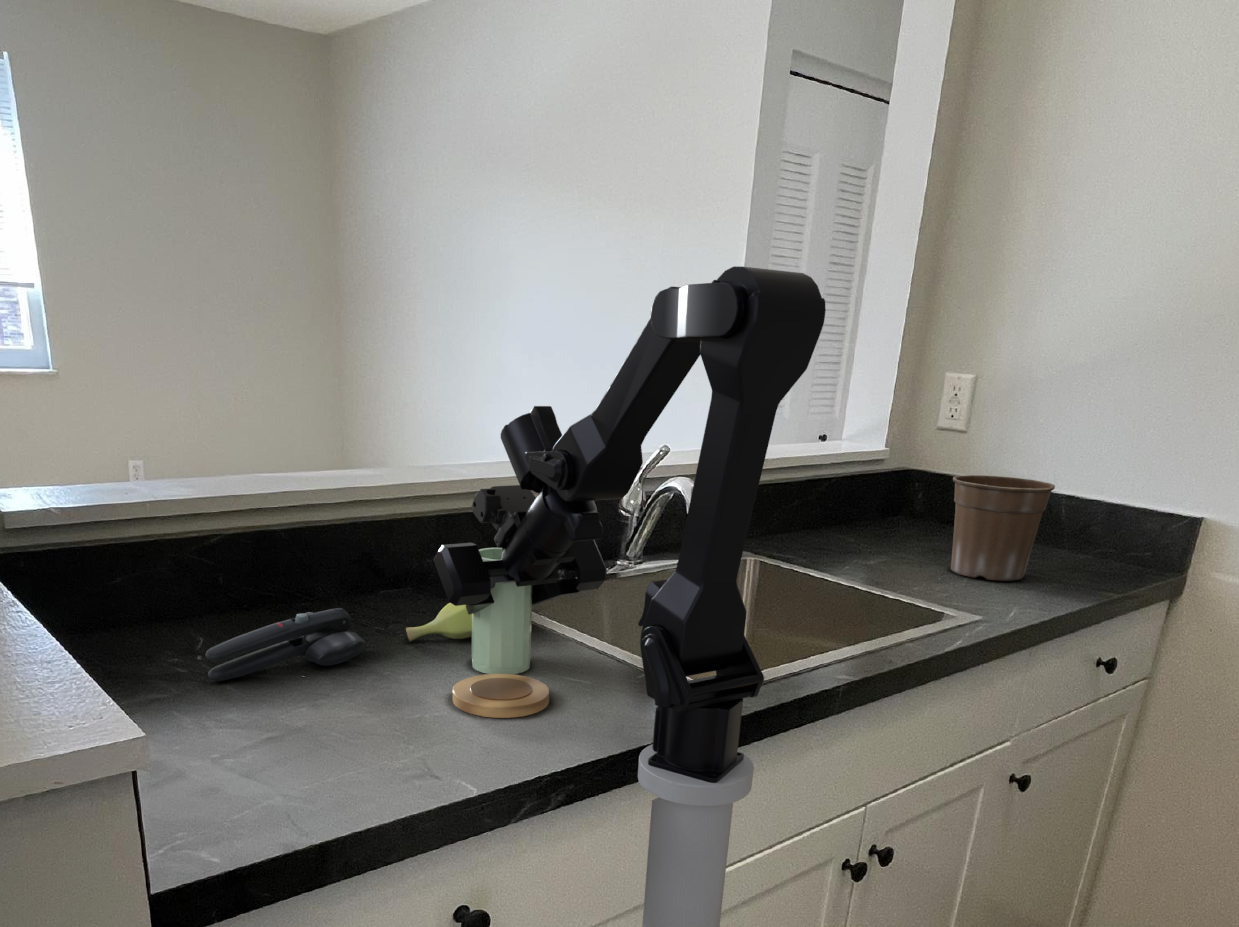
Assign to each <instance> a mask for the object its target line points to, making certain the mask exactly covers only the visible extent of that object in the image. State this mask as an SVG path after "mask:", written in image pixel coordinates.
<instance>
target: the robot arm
mask: <svg viewBox="0 0 1239 927" xmlns="http://www.w3.org/2000/svg"><path fill="white" fill-rule="evenodd" d="M826 311H827V310H826V299H825V298H824V297H822V294H821V292H820V288H819V286H818V284H817V283H816V282H815V280H814V279H813V278H812V277H811V276H809V275H808V274H806V273H804V272H797V271H786V270H777V269H769V268H760V267H758V268H757V267H750V266H732V267H730V268H727V269H726V270H724V271H723V272H722V273H721V274H720V275H719V276H718V277H717V279H713V280H712V281H711V282H703V283H692V284H691V283H690V284H685V285H683V286H672V285H671V286H670V287H668V288H665V289H662V290H659V292H658V293H657V294H656V296H655V297H654V298H653V301H652V304H651V310H650V318H649V319H648V321H647V322H646V324H645V326H644V328H643V329H642V331H641V333H640V335H639V336H638V338H637V340H636V341H635V343H634V344H633V346H632V348H631V350H630V351H629V353H628V354H627V357H626V358H625V359H624V361H623V362H622V365H621V367H619V370H618V371H617V372H616V375H615V376H614V378H613V380H612V381H611V383H610V384H609V386H608V388H607V390H606V392H605V393H604V395H603V397H602V399H600V402H599V404H598V405H597V406H596V407H595V409H594V410H593V411H592V412H591V413H590V414H588V415H586V416H584V417H583V418H581V419H579V420H578V421H576V422H574V423H573V424H571V425H570V426H569V427H568V428H567V429H566V430H565V431H564V433H562V431H561V428H560V427H559V426H560V425H559V424H558V421H557V416H556V414H555V412H554V409H553V406H552V405H533V406H532V409H531V410H530V412H528V413H525V414H522V415H520V416H518V417H516V418H514V419H513V420H512V421H510V422H509V423H508V424H505V425H504V426H503V427H502V429H501V430H500V431H501V432H500V440H501V443H502V445H503V448H504V450H505V453H506V454H507V457H508V460H509V461H510V464H511V467H512V470H513V472H514V475H515V477H516V479H517V481H518V484H515V485H514V484H512V485H511V484H510V485H495V486H491V487H490V488H480V489H478V492H477V493H476V494H475V495H474V497H473V500H472V504H471V510H472V513H473V514H474V516H475V518H476V519H477V521H478V522H479V523H480V524H491V525H492V526H493V527H494V529H495V530H496V532H497V533H496V534H495V535H494V538H493V540H494V543H495V545H496V548H502V550H503V552H502V555H501V559H502V560H495V561H485V562H483V560H482V557H481V554H480V552H479V550H480V549H479V547H478V545H477V544H475V543H474V542H461V543H450V544H441V546H440V547H439V549H438V550H437V552H436V554H435V555H434V558H433V563H434V565H435V568H436V571H437V574H438V576H439V579H440V582H441V585H442V588H443V589H444V592H445V596H446V598H447V601H448V603H451V604H453V605H455V606H459V605H466V609H467V612H468V614H473V613H476V612H478V611H480V610H482V609H483V608H485V607H487V606H489V605H491V604H493V603H494V599H493V597H492V594H491V590H493V589H494V587H495V584H504V583H513V582H515V583H516V585H517V587H520V586H529V585H533V586H532V606H535V605H539V604H542V603H545V602H549V601H552V600H556V599H561V598H564V597H567V596H570V595H571V596H572V595H576V594H578V593H580V592H583V591H590V590H591V591H592V590H599V588H600V587H601V586H602V585H603V583H605V581H606V580H607V576H608V569H607V565H606V564H605V561H604V559H603V556H602V554H601V552H600V550H599V547H598V545H597V543H596V540H602V539H603V538H604V527H603V525H602V521H601V519H600V518H601V517H600V516H601V514H600V512H598V508H597V505H596V503H595V501H609V500H621V499H623V498H625V497H626V496H627V494H629V492H630V490H631V489H632V487H633V484H634V482H635V481H636V478H637V477H638V474H639V472H640V470H641V468H642V466H643V465H644V464H643V463H644V459H643V451H642V450H643V449H642V445H643V443H644V441H645V439H646V436H648V433H649V432H650V431H651V429H652V428H653V426H654V425H655V423H656V422H657V420H658V419H659V417H660V416H661V414H662V413H663V411H664V410H665V409H666V407H667V406H668V404H669V402H670V401H671V399H672V398H673V396H675V393H676V392H677V391H678V389H679V387H680V386H681V385H682V383H683V382H684V380H685V378H686V377H687V375H688V374H689V373H690V371H691V369H692V368H693V367H694V365H695V364H696V362H697V360H698V359H699V358H700V357H701V361H702V364H703V367H704V370H705V374H706V376H707V380H708V382H709V385H710V389H711V398H710V403H709V407H708V414H707V418H706V423H705V427H704V432H703V437H702V442H701V447H700V452H699V455H698V462H697V465H696V466H697V467H696V470H695V471H696V472H695V477H694V482H693V486H692V491H691V496H690V500H689V505H688V511H687V514H686V520H685V524H684V530H683V531H684V532H683V535H682V540H681V544H680V550H679V555H678V559H677V564H676V568H675V569H674V571H673V573H672V574H671V575H670V576H669V577H668V578H667V579H661V580H652V581H650V582H649V584H648V585H647V587H646V588H645V589H646V590H645V594H644V595H645V596H644V606H643V611H642V615H641V617H640V619H639V621H638V622H637V625H638V626H639V627H642V628H641V631H640V639H639V640H640V641H639V645H640V646H639V648H640V655H641V662H642V669H643V675H644V676H643V677H644V682H645V688H646V689H645V690H646V695H647V696H648V697H649V698H651V699H652V700H654V705H655V706H656V707H655V710H654V720H653V721H654V722H653V723H654V724H653V734H652V735H653V736H652V744H653V747H652V748H653V751H654V752H657V753H655V754H654V755H653V756H651V757H650V758H649V759H648V765H650V766H653V767H656V768H660V769H664V770H667V771H671V772H674V773H678V774H681V775H685V776H688V777H692V778H695V779H699V780H702V781H706V782H709V783H717V782H718V781H720V780H721V779H722V778H723V777H724V776H725V775H726V774H728V773H729V772H730V771H731V770H732V769H733V768H734V767H736V766H737V765H738V764H739V763H740V762H741V761H742V760H743V759H744V754H745V753H744V754H743V752H742V751H740V752H737V751H738V750H739V742H740V741H739V740H740V732H741V723H742V715H743V714H742V713H743V703H744V699H747V698H755V697H758V694H759V693H760V691H761V688H762V686H763V684H764V681H765V675H764V674H763V671H762V670H761V668H760V664H759V663H758V661H757V659H756V656H755V655H754V653H753V650H752V648H751V645H750V644H749V642H748V641H747V637H746V636H745V630H746V622H747V621H746V620H747V609H746V608H747V607H746V605H745V603H744V600H743V596H742V595H741V591H740V589H739V586H738V581H737V580H738V576H739V575H738V574H739V571H740V566H741V562H742V558H743V554H744V549H745V546H746V540H747V536H748V532H749V528H750V524H751V519H752V516H753V511H754V506H755V503H756V498H757V494H758V490H759V485H760V482H761V477H762V472H763V469H764V466H765V465H764V464H765V460H766V457H767V453H768V452H767V451H768V448H769V444H770V439H771V437H772V436H771V435H772V431H773V427H774V423H775V418H776V414H777V410H778V408H779V405H780V403H781V402H782V400H784V398H785V397H786V395H787V394H788V393H789V392H790V391H791V389H792V388H793V387H794V386H795V385H796V383H797V382H798V381H799V380H800V378H802V376H803V375H804V373H805V372H806V371H807V370H808V367H809V364H810V361H811V359H812V357H813V354H814V351H815V349H816V346H817V344H818V341H819V339H820V335H821V333H822V331H823V327H824V324H825V319H826ZM532 491H533V492H534V493H536V494H537V496H535V495H534V493H533V492H532ZM712 672H715V675H710V676H709V675H708V676H705V677H700V678H699V677H698V678H694V679H689V680H688V677H691V676H695V675H701V674H706V673H712ZM741 752H742V753H741Z"/></svg>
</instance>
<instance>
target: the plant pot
mask: <svg viewBox="0 0 1239 927" xmlns="http://www.w3.org/2000/svg"><path fill="white" fill-rule="evenodd" d="M952 481H953V483H954V496H953V502H954V503H955V509H954V510H955V511H954V520H953V521H954V522H953V523H954V524H953V525H954V526H953V536H952V550H951V561H950V570H951V571H952V572H954V573H955V574H957V575H960V576H963V577H967V578H968V577H969V578H972V579H977V578H979V577H981V578H985V580H987V581H997V582H998V581H999V582H1013V581H1019V580H1022V579H1023V578H1024V577H1025V575H1026V571H1027V568H1028V564H1029V561H1030V558H1031V554H1032V550H1033V547H1034V543H1035V540H1036V536H1037V533H1038V530H1039V527H1040V523H1041V519H1042V516H1043V514H1044V511H1045V510H1046V509H1047V506H1048V503H1049V500H1050V497H1051V494H1052V491H1054V490H1055V488H1056V485H1055V484H1052V483H1050V482H1045V481H1042V480H1035V479H1029V478H1021V477H1011V476H1001V475H1000V476H999V475H983V474H981V475H980V474H977V475H976V474H968V475H967V474H966V475H955V476H953V477H952Z"/></svg>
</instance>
